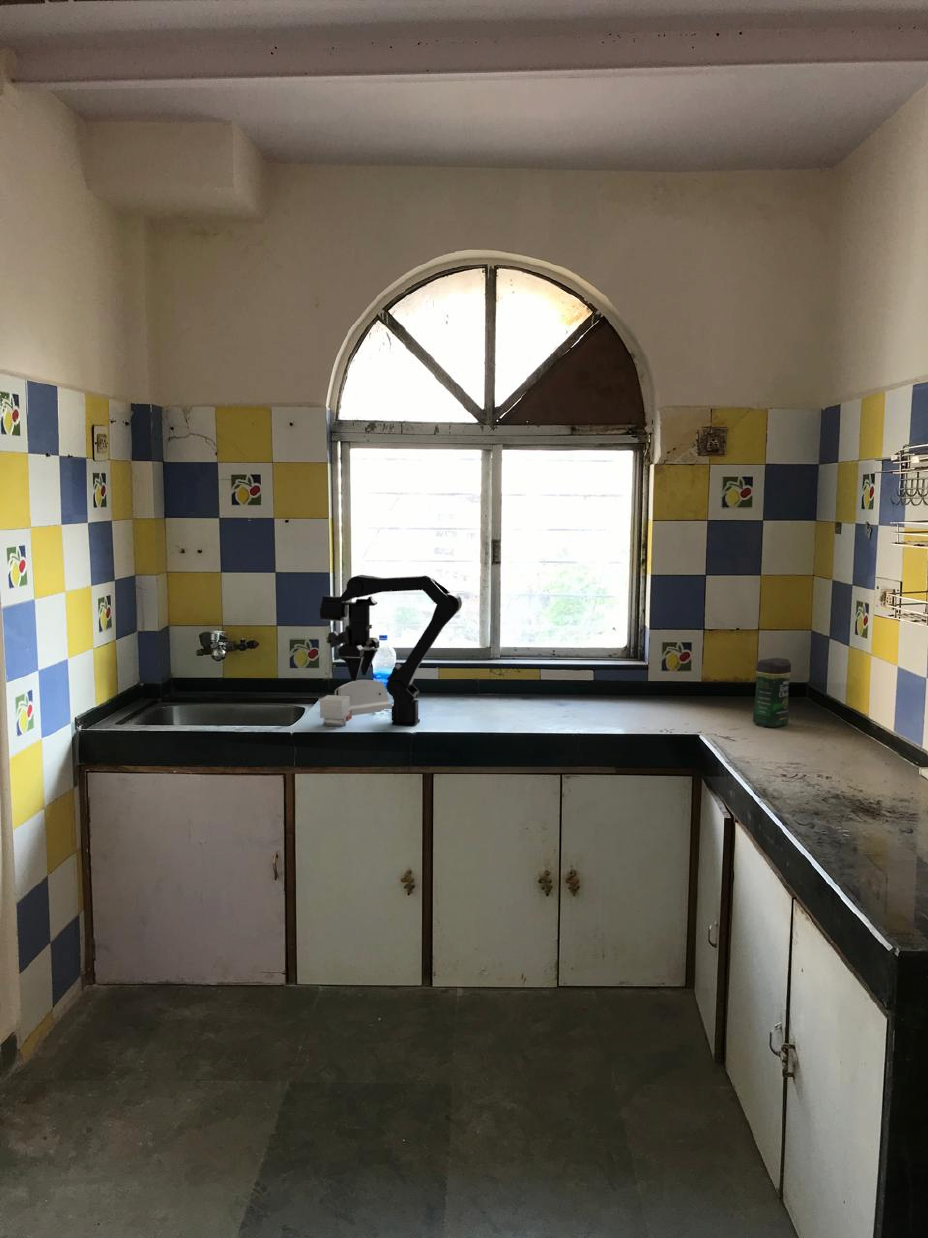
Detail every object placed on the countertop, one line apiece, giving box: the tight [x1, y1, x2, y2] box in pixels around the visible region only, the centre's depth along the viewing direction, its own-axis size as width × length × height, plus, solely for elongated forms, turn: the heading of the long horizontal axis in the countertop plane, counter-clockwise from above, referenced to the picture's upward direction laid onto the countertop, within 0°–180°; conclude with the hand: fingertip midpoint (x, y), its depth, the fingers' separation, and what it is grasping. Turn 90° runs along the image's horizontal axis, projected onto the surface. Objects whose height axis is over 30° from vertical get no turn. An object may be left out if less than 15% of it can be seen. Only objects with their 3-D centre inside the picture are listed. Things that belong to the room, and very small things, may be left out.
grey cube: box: [319, 694, 350, 719], centre depth 261 cm, size 6×6×5 cm
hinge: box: [334, 679, 393, 716], centre depth 280 cm, size 17×5×10 cm, turn 128°
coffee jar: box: [752, 657, 792, 728], centre depth 267 cm, size 10×8×19 cm
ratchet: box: [322, 711, 353, 728], centre depth 264 cm, size 6×12×6 cm, turn 168°
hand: (359, 678), depth 265 cm, fingers open, 9 cm apart
